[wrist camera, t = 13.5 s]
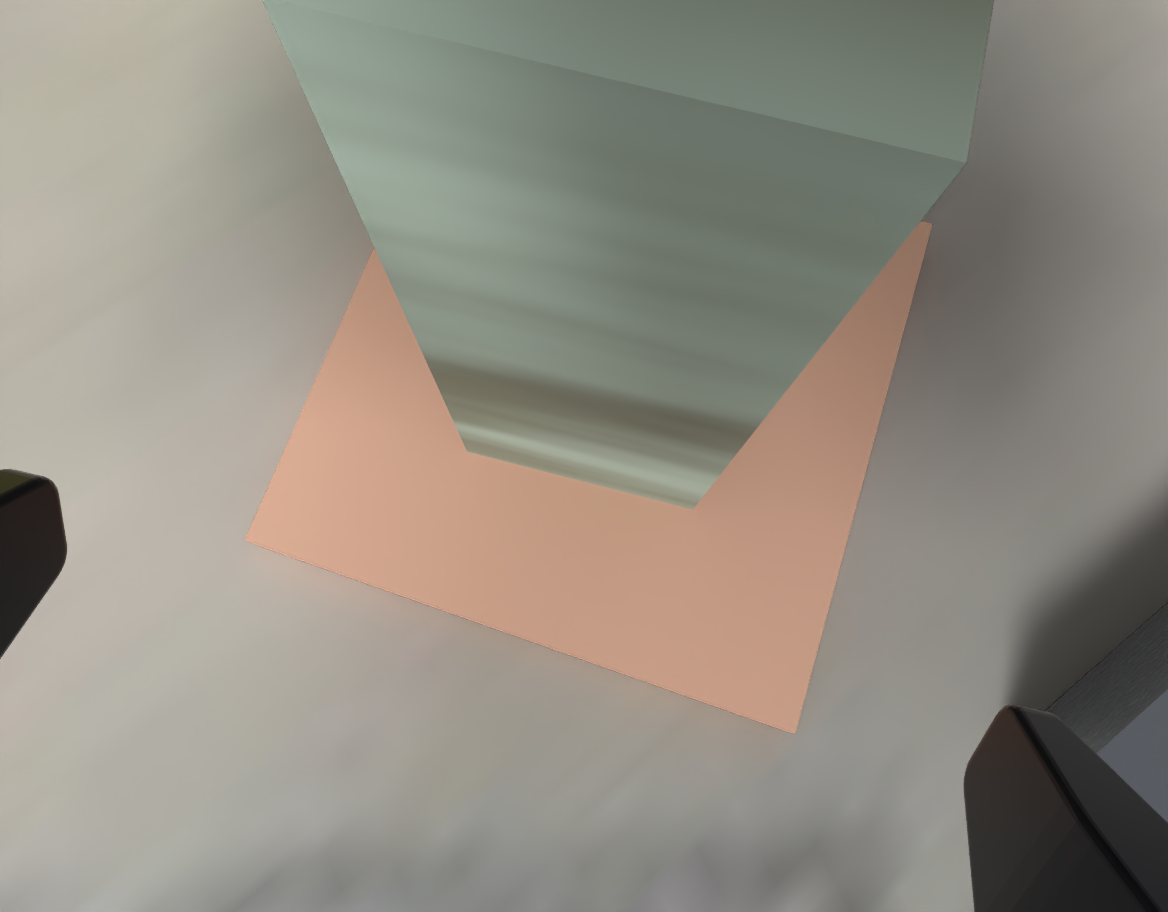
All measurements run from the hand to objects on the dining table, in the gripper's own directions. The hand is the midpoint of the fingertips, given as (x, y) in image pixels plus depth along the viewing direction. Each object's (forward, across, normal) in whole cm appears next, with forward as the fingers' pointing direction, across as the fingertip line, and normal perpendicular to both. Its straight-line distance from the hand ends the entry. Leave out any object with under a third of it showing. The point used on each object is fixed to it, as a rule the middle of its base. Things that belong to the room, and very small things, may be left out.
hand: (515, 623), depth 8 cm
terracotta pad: (+12, 0, +3) cm, 12 cm away
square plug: (+11, 0, +2) cm, 12 cm away
